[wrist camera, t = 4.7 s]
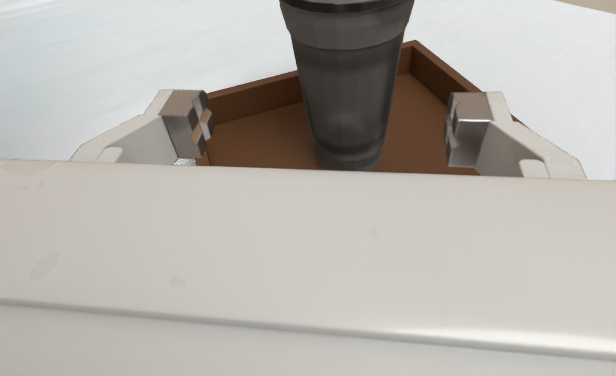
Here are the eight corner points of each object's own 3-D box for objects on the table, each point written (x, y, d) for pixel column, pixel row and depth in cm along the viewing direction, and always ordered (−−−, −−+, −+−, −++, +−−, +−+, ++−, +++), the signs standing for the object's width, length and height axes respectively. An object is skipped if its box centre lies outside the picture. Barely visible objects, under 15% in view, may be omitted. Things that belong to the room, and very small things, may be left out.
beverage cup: (350, 210, 25) (345, -283, 11) (275, 157, 29) (201, -254, 15) (423, 152, 28) (492, -289, 14) (346, 111, 32) (341, -264, 18)
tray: (190, 129, 33) (179, 99, 31) (412, 69, 37) (416, 39, 35) (238, 311, 21) (226, 282, 19) (555, 195, 25) (573, 161, 23)
